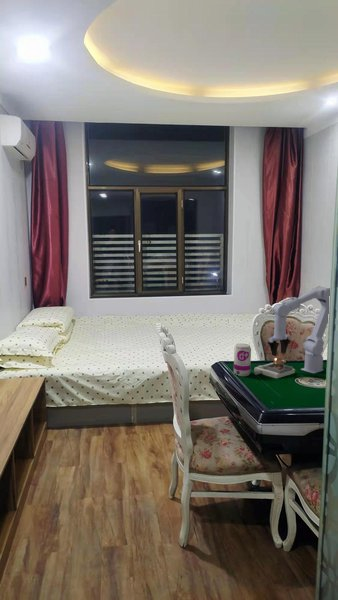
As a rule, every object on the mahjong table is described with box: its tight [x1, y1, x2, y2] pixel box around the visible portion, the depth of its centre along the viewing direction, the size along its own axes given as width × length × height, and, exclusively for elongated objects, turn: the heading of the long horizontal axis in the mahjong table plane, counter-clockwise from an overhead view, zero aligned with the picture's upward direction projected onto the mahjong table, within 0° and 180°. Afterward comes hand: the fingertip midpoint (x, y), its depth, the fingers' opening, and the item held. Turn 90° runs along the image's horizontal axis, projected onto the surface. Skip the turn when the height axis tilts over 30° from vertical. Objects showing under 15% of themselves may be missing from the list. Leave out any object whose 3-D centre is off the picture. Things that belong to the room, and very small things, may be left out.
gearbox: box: [253, 362, 296, 379], centre depth 216 cm, size 19×14×4 cm
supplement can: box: [233, 343, 252, 377], centre depth 213 cm, size 8×8×15 cm
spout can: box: [272, 356, 287, 370], centre depth 215 cm, size 5×6×6 cm
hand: (278, 354), depth 215 cm, fingers open, 7 cm apart
